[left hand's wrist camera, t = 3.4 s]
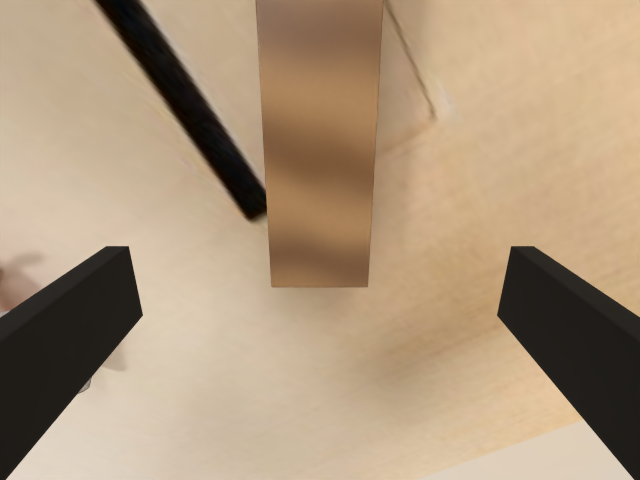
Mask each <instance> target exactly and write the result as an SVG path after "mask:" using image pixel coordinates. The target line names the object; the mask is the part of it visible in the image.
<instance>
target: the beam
mask: <svg viewBox="0 0 640 480" xmlns="http://www.w3.org/2000/svg"><path fill="white" fill-rule="evenodd" d="M256 15H257V33H258V52H259V70H260V88H261V107H262V125H263V143H264V161H265V180H266V198H267V216H268V235H269V253H270V271H271V287H368V275H369V256H370V238H371V219H372V201H373V182H374V164H375V145H376V127H377V108H378V90H379V71H380V53H381V34H382V16H383V0H256Z"/></svg>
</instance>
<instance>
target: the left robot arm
mask: <svg viewBox="0 0 640 480" xmlns="http://www.w3.org/2000/svg"><path fill="white" fill-rule="evenodd" d="M142 316H143V314H142V309H141V304H140V299H139V294H138V289H137V284H136V280H135V275H134V270H133V265H132V260H131V255H130V250H129V246H106V247H105V248H103V249H102V250H100V251H99V252H97V253H96V254H94V255H93V256H91V257H90V258H88V259H87V260H85V261H84V262H82V263H81V264H79V265H78V266H76V267H75V268H73V269H72V270H70V271H69V272H67V273H66V274H64V275H63V276H61V277H60V278H58V279H57V280H55V281H54V282H52V283H51V284H49V285H48V286H46V287H45V288H43V289H42V290H40V291H39V292H37V293H36V294H34V295H33V296H31V297H30V298H28V299H27V300H25V301H24V302H22V303H21V304H19V305H18V306H17V307H15V308H14V309H12V310H11V311H9V312H8V313H6V314H5V315H3V316H2V317H0V480H6V479H7V478H8V476H9V475H10V474H11V473H12V472H13V470H14V469H15V468H16V467H17V466H18V464H19V463H20V462H21V461H22V460H23V458H24V457H25V456H26V455H27V454H28V452H29V451H30V450H31V449H32V448H33V446H34V445H35V444H36V443H37V442H38V440H39V439H40V438H41V437H42V436H43V434H44V433H45V432H46V431H47V430H48V428H49V427H50V426H51V425H52V424H53V422H54V421H55V420H56V419H57V418H58V416H59V415H60V414H61V413H62V412H63V410H64V409H65V408H66V407H67V406H68V404H69V403H70V402H71V401H72V400H73V398H74V397H75V396H76V395H77V394H78V392H79V391H80V390H81V389H82V388H83V387H84V385H85V384H86V383H87V382H88V381H89V379H90V378H91V377H92V376H93V375H94V373H95V372H96V371H97V370H98V369H99V367H100V366H101V365H102V364H103V363H104V361H105V360H106V359H107V358H108V357H109V355H110V354H111V353H112V352H113V351H114V349H115V348H116V347H117V346H118V345H119V343H120V342H121V341H122V340H123V339H124V337H125V336H126V335H127V334H128V333H129V331H130V330H131V329H132V328H133V327H134V325H135V324H136V323H137V322H138V321H139V319H140V318H141V317H142ZM497 316H498V317H499V318H500V319H501V321H502V322H503V323H504V324H505V325H506V327H507V328H508V329H509V330H510V331H511V333H512V334H513V335H514V336H515V337H516V339H517V340H518V341H519V342H520V343H521V345H522V346H523V347H524V348H525V349H526V351H527V352H528V353H529V354H530V355H531V357H532V358H533V359H534V360H535V361H536V363H537V364H538V365H539V366H540V367H541V369H542V370H543V371H544V372H545V373H546V375H547V376H548V377H549V378H550V379H551V381H552V382H553V383H554V384H555V385H556V387H557V388H558V389H559V390H560V391H561V392H562V394H563V395H564V396H565V397H566V398H567V400H568V401H569V402H570V403H571V404H572V406H573V407H574V408H575V409H576V410H577V412H578V413H579V414H580V415H581V416H582V418H583V419H584V420H585V421H586V422H587V424H588V425H589V426H590V427H591V428H592V430H593V431H594V432H595V433H596V434H597V436H598V437H599V438H600V439H601V440H602V442H603V443H604V444H605V445H606V446H607V448H608V449H609V450H610V451H611V452H612V454H613V455H614V456H615V457H616V458H617V460H618V461H619V462H620V463H621V464H622V466H623V467H624V468H625V469H626V470H627V472H628V473H629V474H630V475H631V476H632V478H633V479H634V480H640V317H638V316H637V315H635V314H634V313H632V312H631V311H629V310H628V309H626V308H625V307H623V306H622V305H620V304H619V303H618V302H616V301H615V300H613V299H612V298H610V297H609V296H607V295H606V294H604V293H603V292H601V291H600V290H598V289H597V288H595V287H594V286H592V285H591V284H589V283H588V282H586V281H585V280H583V279H582V278H580V277H579V276H577V275H576V274H574V273H573V272H571V271H570V270H568V269H567V268H565V267H564V266H562V265H561V264H559V263H558V262H556V261H555V260H553V259H552V258H550V257H549V256H547V255H546V254H544V253H543V252H541V251H540V250H538V249H537V248H535V247H534V246H511V250H510V255H509V260H508V265H507V270H506V275H505V280H504V284H503V289H502V294H501V299H500V304H499V309H498V314H497Z"/></svg>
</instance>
